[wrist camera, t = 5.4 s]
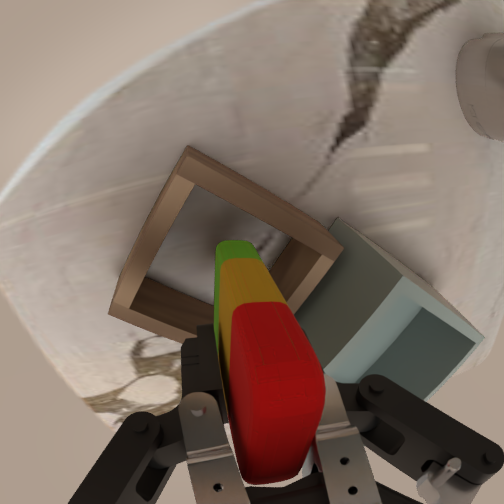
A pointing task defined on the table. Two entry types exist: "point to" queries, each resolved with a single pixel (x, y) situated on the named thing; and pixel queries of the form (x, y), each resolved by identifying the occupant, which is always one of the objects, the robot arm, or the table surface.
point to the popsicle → (263, 368)
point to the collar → (246, 198)
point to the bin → (383, 320)
